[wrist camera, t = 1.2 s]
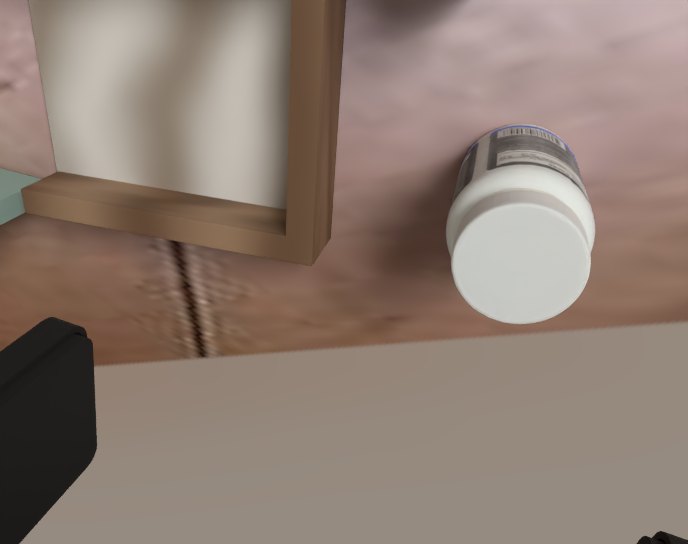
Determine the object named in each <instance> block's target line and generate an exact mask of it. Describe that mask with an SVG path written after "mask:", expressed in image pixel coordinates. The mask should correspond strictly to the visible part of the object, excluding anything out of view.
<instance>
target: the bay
mask: <svg viewBox="0 0 688 544" xmlns="http://www.w3.org/2000/svg"><path fill="white" fill-rule="evenodd" d="M28 2H29V8H30V14H31V20H32V26H33V31H34V37H35V43H36V49H37V55H38V61H39V67H40V73H41V79H42V84H43V90H44V96H45V102H46V108H47V114H48V120H49V126H50V132H51V137H52V143H53V149H54V155H55V161H56V167H57V172H56V173H54V174H52V175H50V176H48V177H46V178H43V179H41V180H39V181H37V182H35V183H33V184H30V185H28V186H26V187H24V188H22V189H21V194H22V199H23V204H24V208H25V213H28V214H34V215H39V216H45V217H50V218H55V219H61V220H66V221H72V222H77V223H82V224H88V225H93V226H98V227H104V228H109V229H115V230H120V231H125V232H131V233H136V234H141V235H147V236H152V237H158V238H163V239H168V240H174V241H179V242H184V243H190V244H195V245H201V246H206V247H211V248H217V249H222V250H227V251H233V252H238V253H244V254H249V255H254V256H260V257H265V258H270V259H276V260H281V261H287V262H292V263H297V264H303V265H308V266H312V265H313V264H314V262H315V261H316V259H317V258H318V256H319V255H320V253H321V252H322V250H323V249H324V247H325V246H326V244H327V243H328V241H329V240H330V238H331V223H332V208H333V193H334V177H335V162H336V146H337V131H338V116H339V100H340V85H341V69H342V54H343V39H344V23H345V8H346V0H28Z"/></svg>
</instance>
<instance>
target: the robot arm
mask: <svg viewBox="0 0 688 544" xmlns="http://www.w3.org/2000/svg"><path fill="white" fill-rule="evenodd" d="M96 449H97V435H96V410H95V385H94V360H93V343H92V341H91V339H89V338H87V333H86V331H85V329H84V328H83V327H80V326H77V325H74V324H72V323H69V322H66V321H63V320H60V319H57V318H55V317H50V318H47V319H45V320H43V321H42V322H40V323H39V324H38V325H36V326H35V327H33V328H32V329H31V330H29V331H28V332H27V333H25V334H24V335H22V336H21V337H20V338H18V339H17V340H16V341H14V342H13V343H11V344H10V345H9V346H7V347H6V348H5V349H3V350H2V351H1V352H0V544H19V543H20V542H21V541H22V540H23V539H24V538H25V536H26V535H27V534H28V533H29V532H30V531H31V530H32V529H33V528H34V526H35V525H36V524H37V523H38V522H39V521H40V520H41V518H42V517H43V516H44V515H45V514H46V513H47V511H49V509H50V508H51V507H52V506H53V505H54V504H55V503H56V502H57V500H58V499H59V498H60V497H61V496H62V495H63V494H64V493H65V492H66V490H67V489H68V488H69V487H70V486H71V485H72V484H73V483H74V481H75V480H76V479H77V478H78V477H79V476H80V475H81V474H82V472H83V471H84V470H85V469H86V468H87V467H88V465H89V464H90V463H91V461H92V459H93V457H94V455H95V452H96ZM637 544H688V540H685V539H682V538H680V537H677V536H674V535H671V534H668V533H666V532H662V531H660V532H657V533H656V534H655V535H654V536H653V537H652V538H650V537H647V536H643V537H642V538H641V539H640V540H639V541H638V543H637Z"/></svg>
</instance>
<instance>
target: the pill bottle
mask: <svg viewBox="0 0 688 544" xmlns="http://www.w3.org/2000/svg"><path fill="white" fill-rule="evenodd" d="M594 237H595V222H594V214H593V211H592V208H591V205H590V202H589V199H588V196H587V193H586V190H585V187H584V184H583V181H582V178H581V174H580V171H579V168H578V165H577V162H576V159H575V157H574V155H573V153H572V151H571V150H570V148H569V147H568V145H567V144H566V143H565V142H564V141H563V140H562V139H561V138H560V137H559V136H557V135H556V134H555V133H553V132H551V131H550V130H548V129H545V128H543V127H540V126H536V125H531V124H512V125H507V126H504V127H501V128H498V129H496V130H493V131H491V132H489V133H487V134H486V135H484V136H483V137H482V138H480V139H479V140H478V141H477V142H476V143H475V144H474V145H473V146H472V147H471V148H470V150H469V151H468V153H467V154H466V156H465V158H464V160H463V162H462V165H461V168H460V170H459V174H458V179H457V183H456V187H455V191H454V194H453V197H452V202H451V206H450V210H449V214H448V219H447V225H446V241H447V247H448V250H449V253H450V256H451V271H452V275H453V279H454V282H455V285H456V287H457V289H458V291H459V292H460V294H461V295H462V297H463V298H464V299H465V300H466V302H467V303H468V304H469V305H470V306H472V307H473V308H474V309H475V310H477V311H478V312H480V313H481V314H483V315H485V316H487V317H489V318H492V319H494V320H497V321H500V322H504V323H512V324H528V323H535V322H539V321H543V320H546V319H549V318H552V317H554V316H556V315H558V314H559V313H561V312H563V311H564V310H565V309H567V308H568V307H569V306H570V305H571V304H572V303H573V302H574V301H575V300H576V299H577V298H578V297H579V295H580V294H581V292H582V291H583V289H584V287H585V285H586V283H587V280H588V278H589V273H590V265H591V257H590V253H591V250H592V247H593V243H594Z"/></svg>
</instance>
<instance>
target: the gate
mask: <svg viewBox="0 0 688 544" xmlns="http://www.w3.org/2000/svg"><path fill="white" fill-rule="evenodd" d="M39 180H41V179H40V178H36V177H32V176H28V175H24V174H21V173H17V172H13V171H9V170H5V169H2V168H0V225H2V224H4V223H6V222H8V221H10V220H11V219H13V218H15V217H17V216H19V215H21V214H23V213H25V208H24V204H23V199H22V194H21V189H22V188H24V187H26V186H28V185H30V184H33V183H35V182H37V181H39Z"/></svg>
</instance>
